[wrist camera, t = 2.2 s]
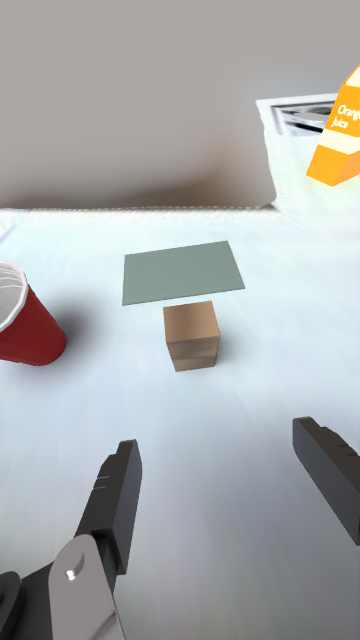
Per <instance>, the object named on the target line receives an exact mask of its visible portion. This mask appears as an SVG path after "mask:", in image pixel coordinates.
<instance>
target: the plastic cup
mask: <svg viewBox="0 0 360 640" xmlns="http://www.w3.org/2000/svg"><path fill="white" fill-rule="evenodd" d="M65 346H66V338H65V335H64V333H63V331H62V330H61V329H60V327H59V326H58V325H57V324H56V321H55V320H54V319H53V317H52V316H51V315H50V313H49V312H48V311H47V310H46V308H45V307H44V306H43V304H42V303H41V302H40V301H39V299H38V298H37V297H36V295H35V293H34V292H33V290H32V289H31V287H30V285H29V284H28V283H27V279H26V275H25V273H24V272H23V271H22V270H21V269H20V268H19V267H17V266H16V265H15V264H13V263H12V262H6V261H0V359H1V360H7V361H12V362H17V363H20V362H21V363H25V364H30V365H34V366H36V365H38V366H41V365H47V364H49V363H51V362H53V361H55V360H56V359H57V358H58V357H59V356H60V355H61V354H62V352H63V350H64V349H65Z"/></svg>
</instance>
